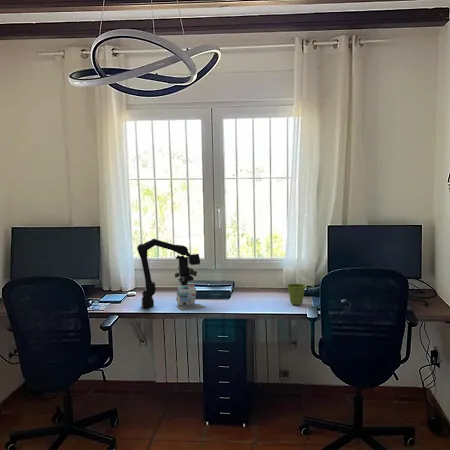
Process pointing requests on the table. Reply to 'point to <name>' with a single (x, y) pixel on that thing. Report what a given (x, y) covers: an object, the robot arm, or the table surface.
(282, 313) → the table surface
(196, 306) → the slate mat
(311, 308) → the table surface
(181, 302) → the light bulb box
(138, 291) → the table surface
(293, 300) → the plant pot
